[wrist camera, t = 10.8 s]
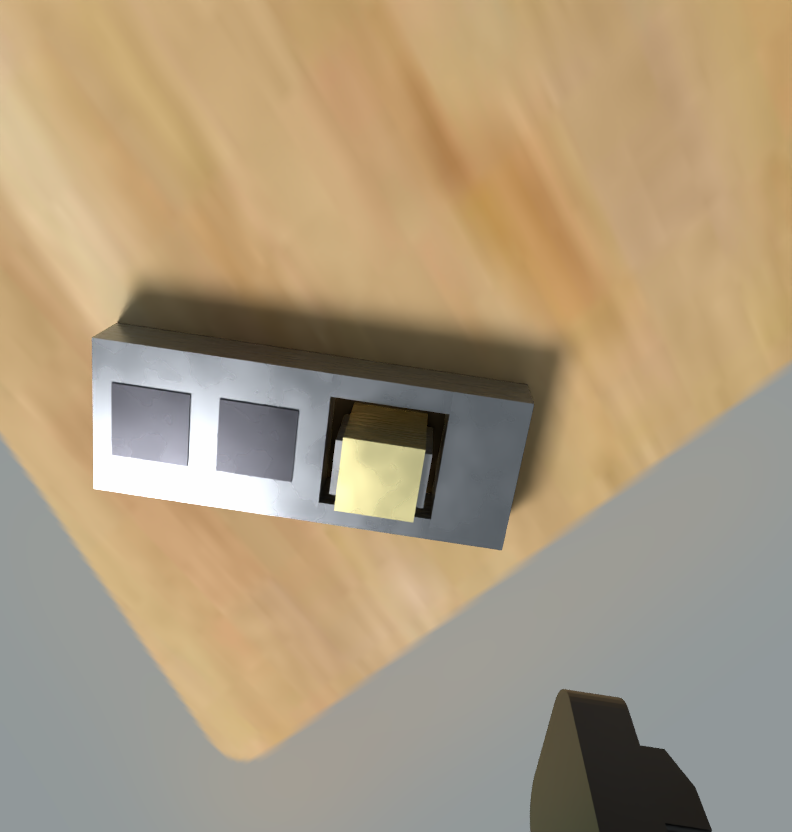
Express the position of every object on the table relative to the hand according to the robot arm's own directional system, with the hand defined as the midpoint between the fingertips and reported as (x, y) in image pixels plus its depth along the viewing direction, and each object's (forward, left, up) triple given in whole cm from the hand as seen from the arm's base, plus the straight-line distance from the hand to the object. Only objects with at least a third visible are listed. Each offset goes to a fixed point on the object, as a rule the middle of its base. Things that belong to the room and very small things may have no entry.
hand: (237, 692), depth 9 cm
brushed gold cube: (+9, +1, -30) cm, 32 cm away
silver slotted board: (+9, -3, -30) cm, 32 cm away
